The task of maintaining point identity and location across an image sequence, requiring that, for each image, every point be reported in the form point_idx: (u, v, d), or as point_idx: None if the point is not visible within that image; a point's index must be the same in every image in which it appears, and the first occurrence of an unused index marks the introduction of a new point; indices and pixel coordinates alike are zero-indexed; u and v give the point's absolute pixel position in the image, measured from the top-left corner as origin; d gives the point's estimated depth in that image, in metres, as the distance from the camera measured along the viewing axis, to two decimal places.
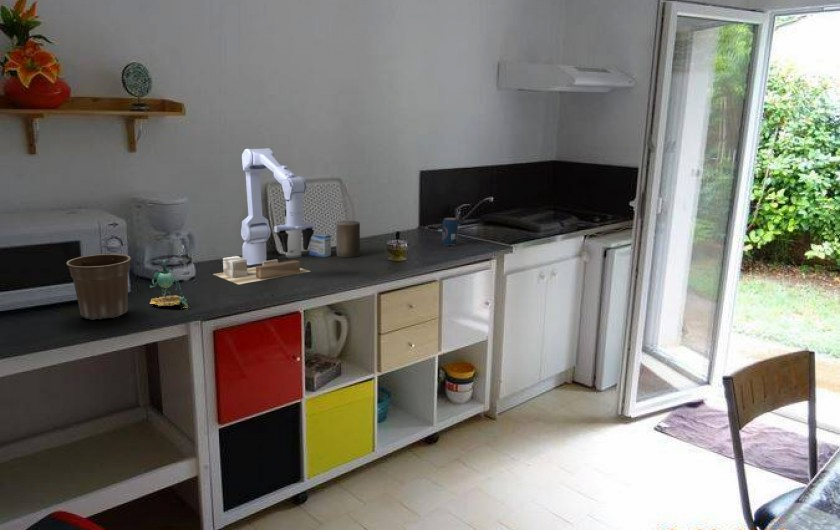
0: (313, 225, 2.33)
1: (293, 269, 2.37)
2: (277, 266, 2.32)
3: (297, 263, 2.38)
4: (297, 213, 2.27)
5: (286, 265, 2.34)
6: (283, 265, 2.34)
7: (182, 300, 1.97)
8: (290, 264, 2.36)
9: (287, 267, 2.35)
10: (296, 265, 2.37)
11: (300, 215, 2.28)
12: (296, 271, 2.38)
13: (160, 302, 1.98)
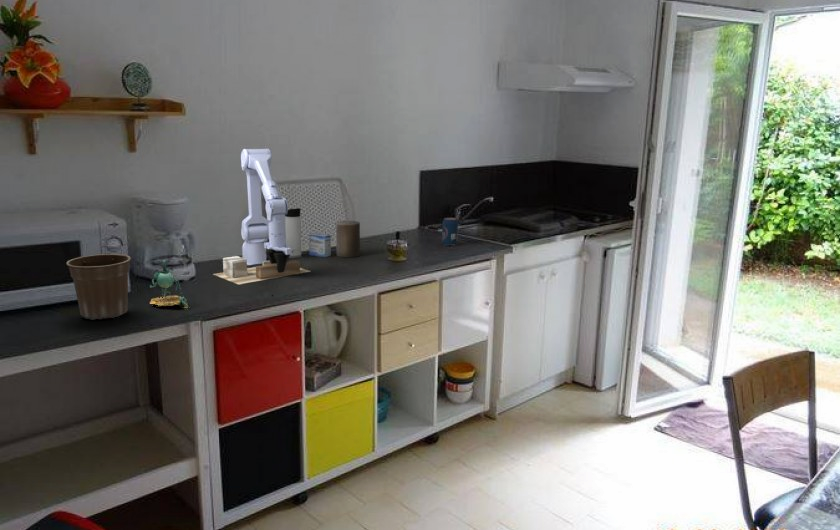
0: (285, 250, 2.27)
1: (293, 269, 2.37)
2: None
3: (297, 263, 2.38)
4: (269, 234, 2.29)
5: (286, 265, 2.34)
6: None
7: (182, 300, 1.97)
8: (290, 264, 2.36)
9: (287, 267, 2.35)
10: (296, 265, 2.37)
11: (272, 236, 2.29)
12: (296, 271, 2.38)
13: (160, 302, 1.98)
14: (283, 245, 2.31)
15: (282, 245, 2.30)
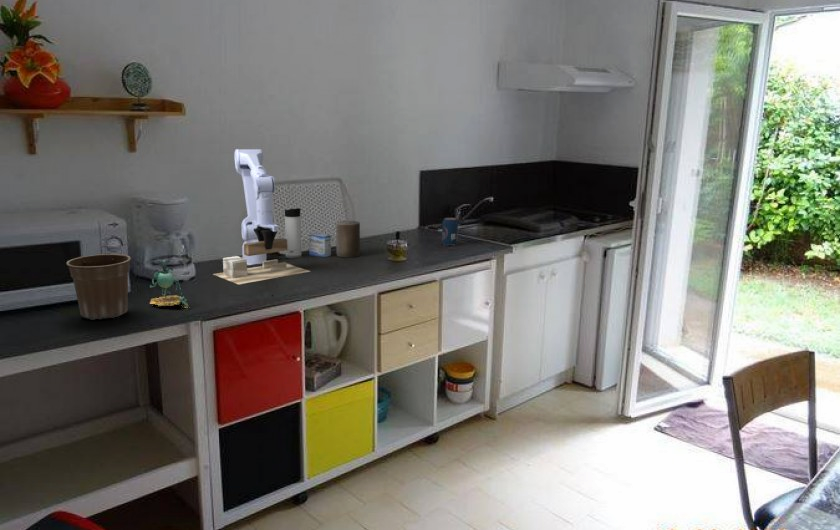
0: (272, 227, 2.31)
1: (280, 246, 2.41)
2: None
3: (285, 241, 2.41)
4: (257, 211, 2.33)
5: (274, 243, 2.38)
6: None
7: (182, 300, 1.97)
8: (278, 242, 2.39)
9: (275, 245, 2.39)
10: (284, 243, 2.41)
11: (259, 214, 2.33)
12: (284, 249, 2.42)
13: (160, 302, 1.98)
14: (270, 222, 2.34)
15: (269, 222, 2.34)
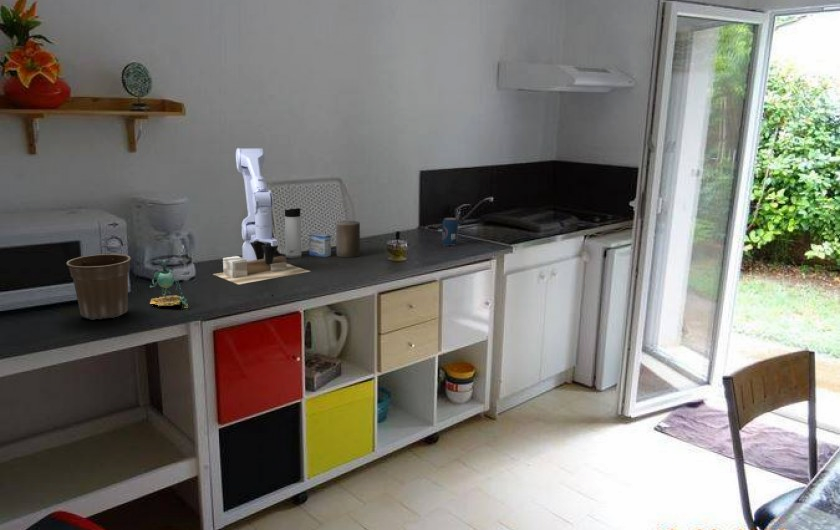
0: (271, 242, 2.33)
1: None
2: (263, 261, 2.38)
3: (283, 259, 2.44)
4: (256, 226, 2.35)
5: None
6: None
7: (182, 300, 1.97)
8: (276, 260, 2.42)
9: (273, 262, 2.41)
10: (282, 261, 2.44)
11: (258, 228, 2.35)
12: None
13: (160, 302, 1.98)
14: (269, 237, 2.37)
15: (268, 237, 2.36)
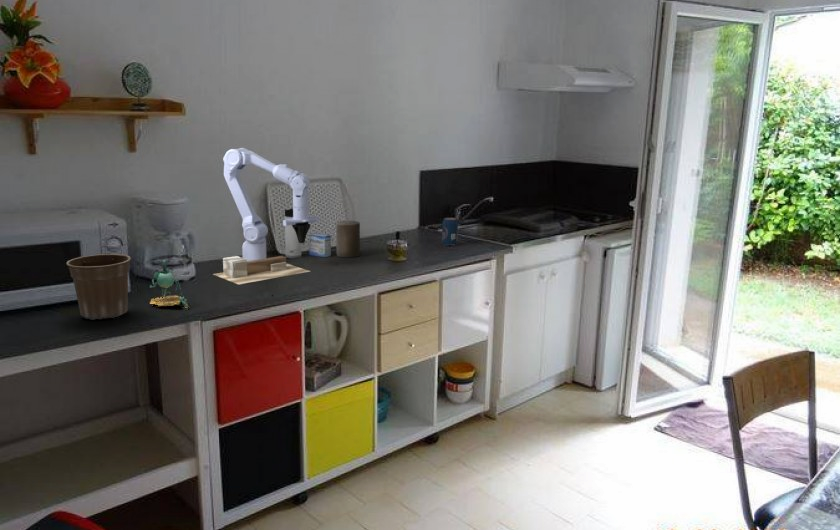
0: (317, 218, 2.52)
1: None
2: (263, 261, 2.38)
3: (283, 259, 2.44)
4: (304, 208, 2.45)
5: (272, 261, 2.41)
6: (269, 261, 2.40)
7: (182, 300, 1.97)
8: (276, 260, 2.42)
9: (273, 262, 2.41)
10: (282, 261, 2.44)
11: (307, 209, 2.46)
12: None
13: (160, 302, 1.98)
14: None
15: None
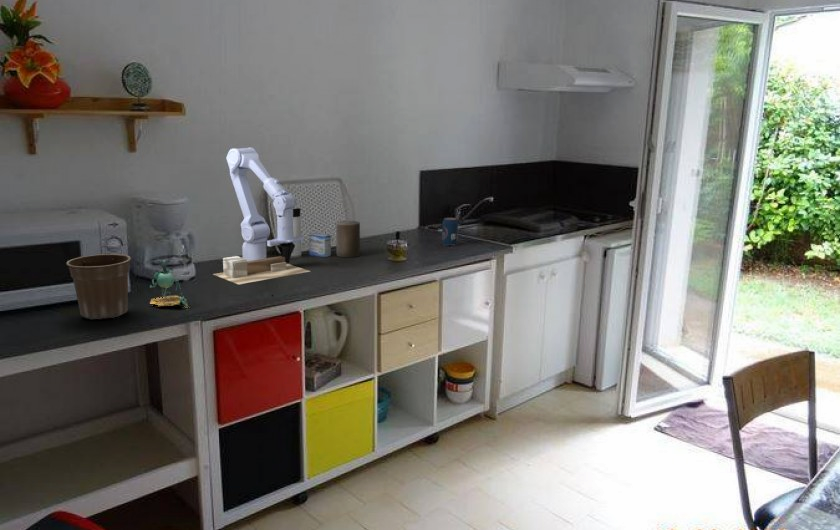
0: (302, 238, 2.49)
1: None
2: (262, 262, 2.38)
3: (282, 259, 2.44)
4: (288, 228, 2.41)
5: (271, 261, 2.40)
6: (268, 261, 2.40)
7: (182, 300, 1.97)
8: (275, 260, 2.42)
9: (272, 263, 2.41)
10: (281, 261, 2.43)
11: (291, 229, 2.43)
12: None
13: (160, 302, 1.98)
14: None
15: None
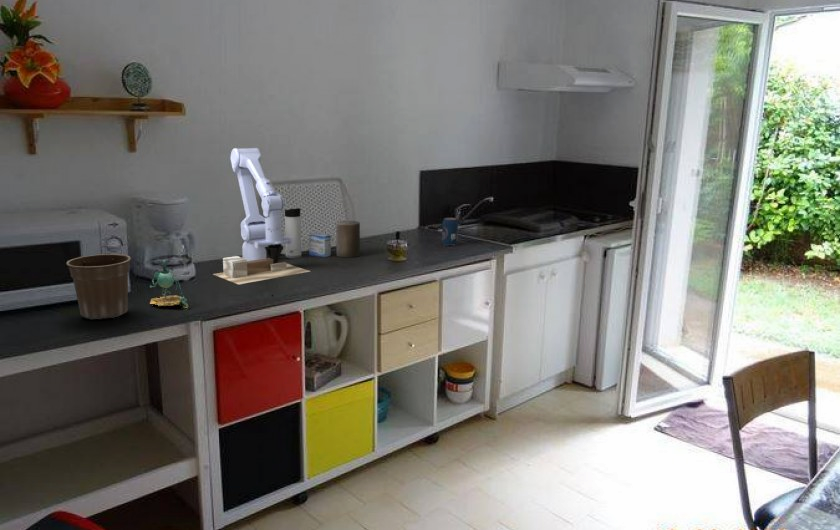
0: (290, 240, 2.45)
1: (266, 266, 2.39)
2: (250, 264, 2.34)
3: (270, 261, 2.40)
4: (276, 230, 2.38)
5: (259, 263, 2.37)
6: (256, 263, 2.36)
7: (182, 300, 1.97)
8: (263, 262, 2.38)
9: (260, 265, 2.37)
10: (269, 263, 2.40)
11: (279, 231, 2.39)
12: (269, 269, 2.40)
13: (160, 302, 1.98)
14: None
15: None
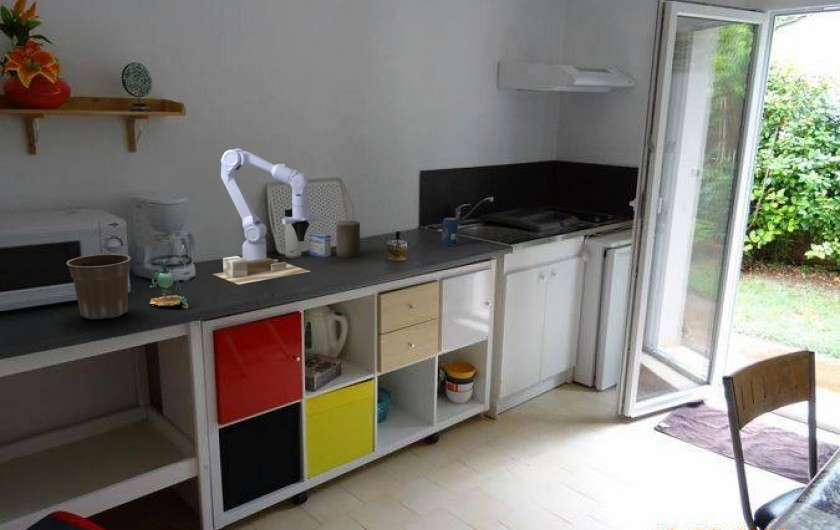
0: (316, 217, 2.54)
1: (266, 266, 2.39)
2: (250, 264, 2.34)
3: (270, 261, 2.40)
4: (303, 206, 2.47)
5: (259, 263, 2.37)
6: (256, 263, 2.36)
7: (182, 300, 1.97)
8: (263, 262, 2.38)
9: (260, 265, 2.37)
10: (269, 263, 2.40)
11: (306, 208, 2.48)
12: (269, 269, 2.40)
13: (160, 302, 1.98)
14: None
15: None
